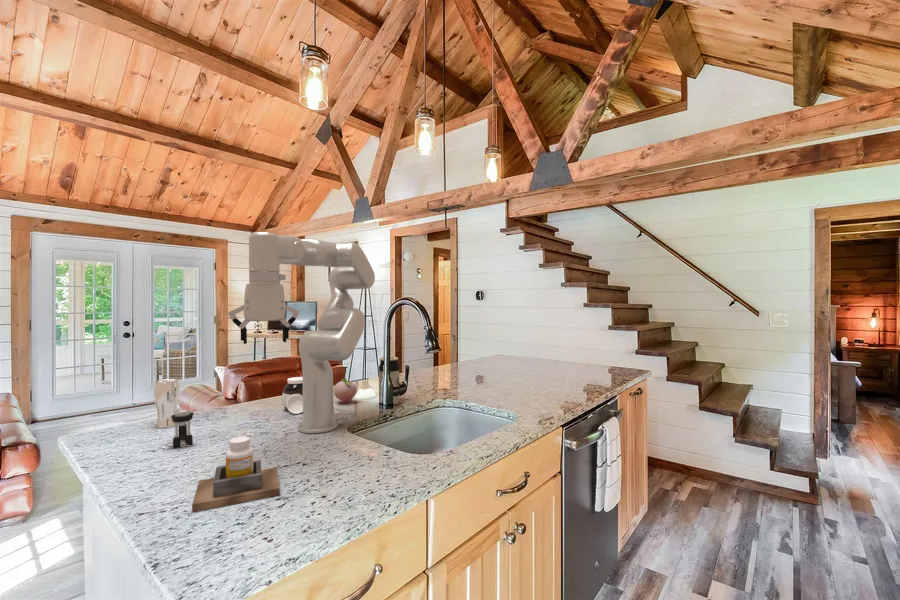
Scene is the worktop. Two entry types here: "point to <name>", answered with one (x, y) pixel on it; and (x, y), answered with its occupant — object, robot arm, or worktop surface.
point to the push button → (182, 429)
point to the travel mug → (393, 372)
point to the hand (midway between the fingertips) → (265, 342)
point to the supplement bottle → (239, 458)
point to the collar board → (236, 488)
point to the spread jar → (293, 395)
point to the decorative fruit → (345, 390)
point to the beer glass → (166, 401)
